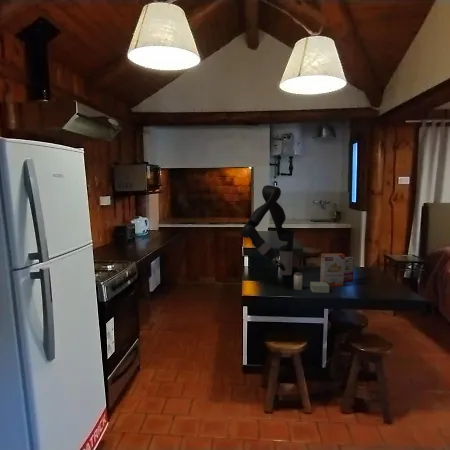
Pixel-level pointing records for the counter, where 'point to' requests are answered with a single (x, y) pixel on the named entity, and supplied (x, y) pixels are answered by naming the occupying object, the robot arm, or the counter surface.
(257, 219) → the robot arm
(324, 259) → the cracker box
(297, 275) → the jar
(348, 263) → the candy bar box
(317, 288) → the base
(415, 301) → the counter surface
